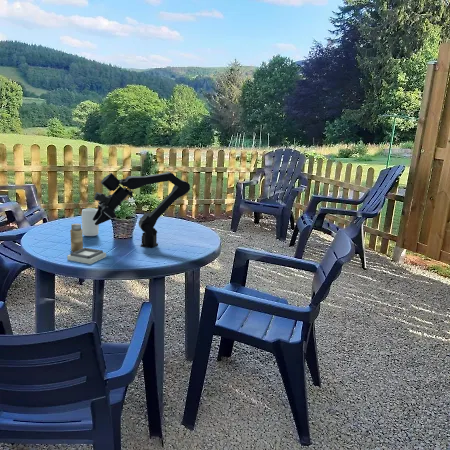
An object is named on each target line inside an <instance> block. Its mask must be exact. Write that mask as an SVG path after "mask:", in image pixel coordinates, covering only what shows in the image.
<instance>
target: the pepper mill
mask: <svg viewBox="0 0 450 450" xmlns="http://www.w3.org/2000/svg"><path fill="white" fill-rule="evenodd" d="M69 232H70V251H71V253H72V252H75V251H77V250H80V249H82V248H84V241H83V238H84V235H83V231H82V223H72V224H71V228H70V231H69Z"/></svg>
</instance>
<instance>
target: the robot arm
mask: <svg viewBox="0 0 450 450" xmlns="http://www.w3.org/2000/svg"><path fill="white" fill-rule="evenodd" d="M165 182H170V183H171V184H172V185H173V187H172V189H171V191H170V192H169V194H168V195H167V196H166V197H165V198H164V199H163V200H162V201H161V202H160V203H159V204H158V205H157V206H156V207H155V208H154V209H153V210H152V211H151V212H150V213H146V212H145V213H144V214H143V215H142V217H141V216H140V217H139V221H138V227H139V228H140V230H141V232H142V233H141V234H142V235H141V244H140V247H146V248H151V249H152V248H155V247H156V246H158V245H159V243H158V241H157V236H158V235H157V234H158V230H157V229H156V228H155V225H156V223H157V221H158V219H159V218H161V216H162V215H163V214H164V213H165V212H166V211H167V210H168V209H169V208H170V207H171V206H172V205H173V204H174V203H175V202H176V201H177V199H179V198H181V197H183V196H185V195H186V194H187V193H189V192H190V191H191V184H190V183H189V182H188V181H186V180H183V179H181V178H179V177H177V176H176V175H175V174H174V173H172V172H171V171H166V172H163V173H162V172H161V173H157V174H151V175H143V176H141V175H129V176H126V177H125V178H122V179H119V178H118V177H116V176H115V175H114V173H112V172H110V173H109V174H108V175H107V176H105V177H104V178H102V180H101V181H100V184H101V185H103V187H105V188H106V189H107V190H108V191H109V192H113V193H112V194H108V195H106V194H105V193H102V192H95V195H94V196H93V199H94V201H97V209H98V210H97V212H96V214H95V216H94V217H93V220H94V221H95V220H97V221H96V222H95V225H99V226H100V225H101V224H103V223H106V222H108V221H110V220H114V219H116V218H115V217H116V215H117V214H116V212H115V211H116V209H117V208H118V207H119V206H121V205H122V202H124V200H126V199H127V198H128V196H130V197H131V198H133V197H134V196H133V195H134V194H133V193H134V192H133V190H137V189H139V188H143V187H145V186H147V185H152V184H159V183H165Z"/></svg>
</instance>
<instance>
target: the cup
mask: <svg viewBox="0 0 450 450" xmlns="http://www.w3.org/2000/svg"><path fill="white" fill-rule="evenodd" d="M97 210H98V208H94V207H91V208H90V207H89V208H88V207H87V208H82V210H81V229H82V234H83V236H87V237H95V236H97V235H99V231H100V230H99V229H100V227H99V226H100V224H99V225H95V222H96V221H97V220H95V221H94V220H93V217H94V216H95V214H96V212H97Z"/></svg>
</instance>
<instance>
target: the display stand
mask: <svg viewBox="0 0 450 450" xmlns="http://www.w3.org/2000/svg"><path fill="white" fill-rule="evenodd" d="M66 257H67V261H71V262H78V263H82V264H88V265H91V264H94V263H96V262H99V261H100V260H102V259H105V258H107V252H106V251H104V250H101V249H96V248H95V249H94V248H90V247H83V248H82V249H80V250H77V251H75V252H72V251H71V253H70V254H68V255H66Z"/></svg>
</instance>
